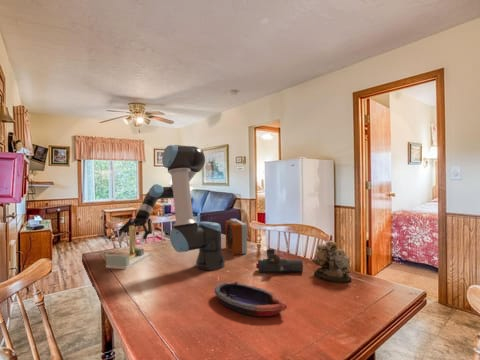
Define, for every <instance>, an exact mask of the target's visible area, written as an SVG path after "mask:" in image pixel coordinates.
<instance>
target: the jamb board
mask: <svg viewBox="0 0 480 360" xmlns="http://www.w3.org/2000/svg"><path fill="white" fill-rule="evenodd" d="M135 251H139V255H138V256H136V257H134V258H132V259H130V260H129V255H128V254H117V253H115V254H113V253H112V254H111V253H108V254H105V268H106V269H117V270H118V269H119V270H121V269H122V270H127V269H128V270H129V268H132V267H133V266H135V265H136V264H138V263H140V262H142V261H144V260H145V259H147V258H149V257H150V253H145V249H144V248H141V247H139V248H138V247H135Z"/></svg>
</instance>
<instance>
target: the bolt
mask: <svg viewBox="0 0 480 360" xmlns="http://www.w3.org/2000/svg"><path fill="white" fill-rule="evenodd" d="M128 235H129V237H128V239H129V243H128V245H129V247H128V248H129V250H128V251H129V253H128V254H127V255H129V260H130V259H132V258H134V257H136V256H138V255H139V251H135V248H136V227H135V224H134V225H130V226H129V231H128Z"/></svg>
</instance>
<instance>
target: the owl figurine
mask: <svg viewBox="0 0 480 360" xmlns="http://www.w3.org/2000/svg"><path fill="white" fill-rule="evenodd" d="M311 261H312V262H314V264H315V265H316V266H320V267H318V268H317V269H316V270H314V273H313V274H314V276H315V278H318V279H319V280H322V281H324V282H330V283H333V284H334V283H336V284H348V283H351V282H352V277H351V276H350V275H349V274H350V273H351V269H348V268H349V266H350V263H351V262H350V257H349V256H348V255H347V253H346V252H345V250H344V249H341V248H340V247H339V246H338V244H337V242H335V241H334V240H329V241H327V243H326V244H325V243H320V244H318V245H317V251H316V254H315V258H312V260H311Z"/></svg>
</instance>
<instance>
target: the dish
mask: <svg viewBox="0 0 480 360" xmlns="http://www.w3.org/2000/svg"><path fill="white" fill-rule="evenodd" d="M214 294H215V297H216V298H217V299H218V301H219V302H220V303H221V304H223V305H224V306H225V307H227V308H229V309H231V310H233V311H236V312H239V313H242V314H245V315H248V316H253V317H272V316H275V315H278V314H280V313H281V312H283V311H285V310H286V309H288V308H287V307H288V306H287V304H286V303H284V302H283V300H282V299H281V298H280V297H279V296H278V295H276V293H273V292H271V291H268V290H267V289H264V288H260V287H257V286H254V285H253V286H252V285H249V284H245V283H244V284H243V283H241V282H240V283H239V282H238V281H234V282H224V283H219V284H217V285H216V286H215V287H214Z"/></svg>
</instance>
